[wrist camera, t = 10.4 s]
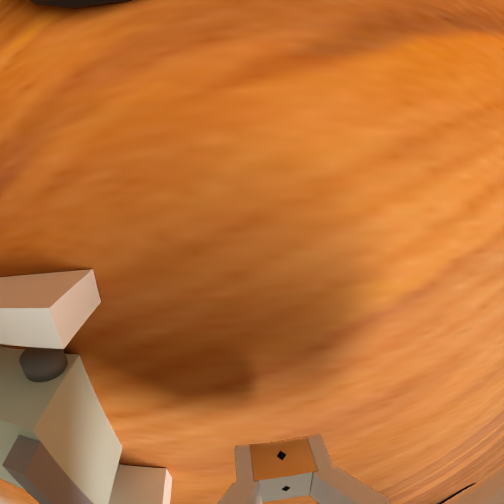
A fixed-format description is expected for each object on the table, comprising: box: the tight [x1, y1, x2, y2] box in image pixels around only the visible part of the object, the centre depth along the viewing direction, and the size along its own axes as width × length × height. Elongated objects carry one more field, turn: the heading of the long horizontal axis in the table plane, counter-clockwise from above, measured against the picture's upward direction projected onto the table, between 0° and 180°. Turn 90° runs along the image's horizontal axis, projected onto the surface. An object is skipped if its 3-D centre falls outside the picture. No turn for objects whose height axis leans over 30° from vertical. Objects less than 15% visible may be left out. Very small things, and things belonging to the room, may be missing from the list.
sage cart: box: [0, 346, 123, 504], centre depth 7 cm, size 7×8×6 cm
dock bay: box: [0, 269, 172, 504], centre depth 9 cm, size 12×12×3 cm
